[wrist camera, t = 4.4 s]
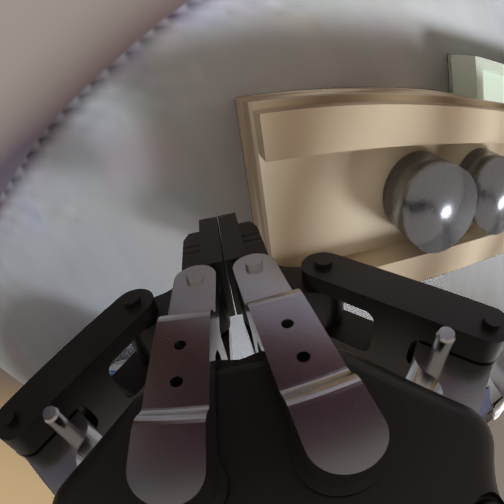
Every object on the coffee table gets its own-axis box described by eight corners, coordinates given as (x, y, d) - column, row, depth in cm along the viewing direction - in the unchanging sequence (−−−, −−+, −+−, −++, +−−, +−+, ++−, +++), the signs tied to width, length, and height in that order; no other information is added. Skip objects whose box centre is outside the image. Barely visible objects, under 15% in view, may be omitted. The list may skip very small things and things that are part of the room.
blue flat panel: (381, 465, 55) (388, 476, 51) (482, 378, 51) (491, 388, 47) (408, 468, 66) (414, 476, 63) (486, 400, 62) (493, 407, 59)
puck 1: (447, 145, 13) (480, 160, 11) (445, 218, 15) (471, 240, 13) (379, 158, 13) (410, 175, 11) (383, 238, 15) (407, 264, 13)
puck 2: (500, 147, 14) (529, 160, 12) (491, 211, 16) (516, 228, 14) (456, 148, 13) (488, 162, 11) (448, 221, 16) (475, 241, 14)
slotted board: (469, 93, 18) (543, 114, 11) (462, 206, 23) (520, 248, 16) (234, 98, 16) (258, 105, 10) (257, 247, 21) (284, 322, 15)
